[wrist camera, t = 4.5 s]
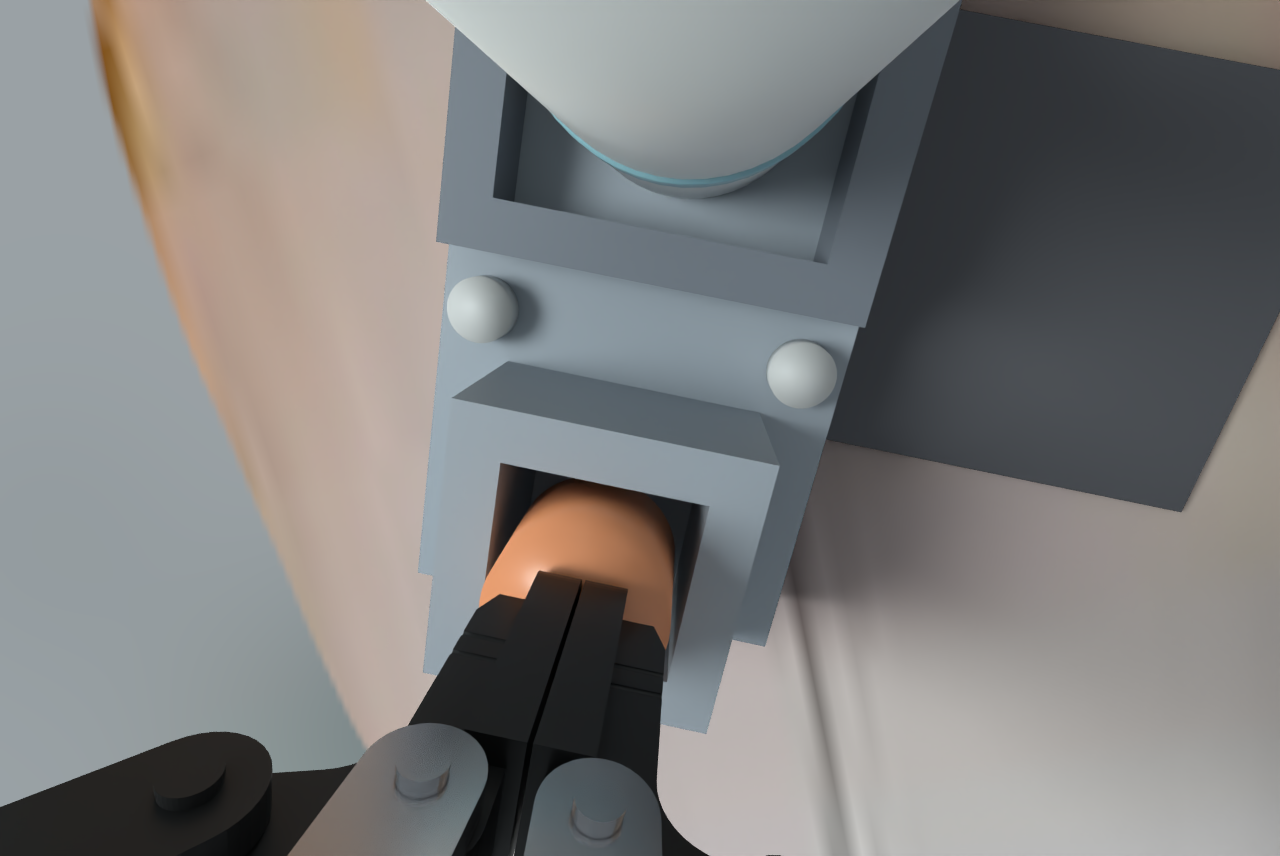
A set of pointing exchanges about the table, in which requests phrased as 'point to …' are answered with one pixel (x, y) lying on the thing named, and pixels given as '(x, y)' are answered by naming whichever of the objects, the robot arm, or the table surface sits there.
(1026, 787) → the table surface
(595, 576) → the plunger
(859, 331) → the pad
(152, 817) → the robot arm
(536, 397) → the housing
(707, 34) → the cartridge
